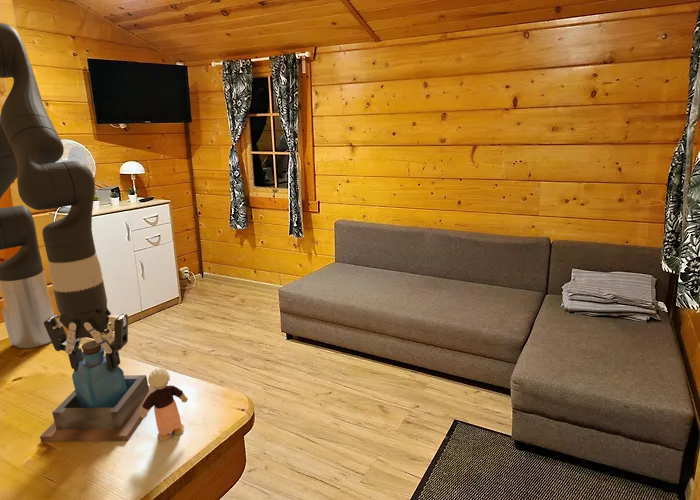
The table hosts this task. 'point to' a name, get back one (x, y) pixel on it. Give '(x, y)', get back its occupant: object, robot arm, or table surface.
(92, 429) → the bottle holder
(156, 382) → the grandmother figurine
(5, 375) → the table surface
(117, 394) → the perfume bottle
